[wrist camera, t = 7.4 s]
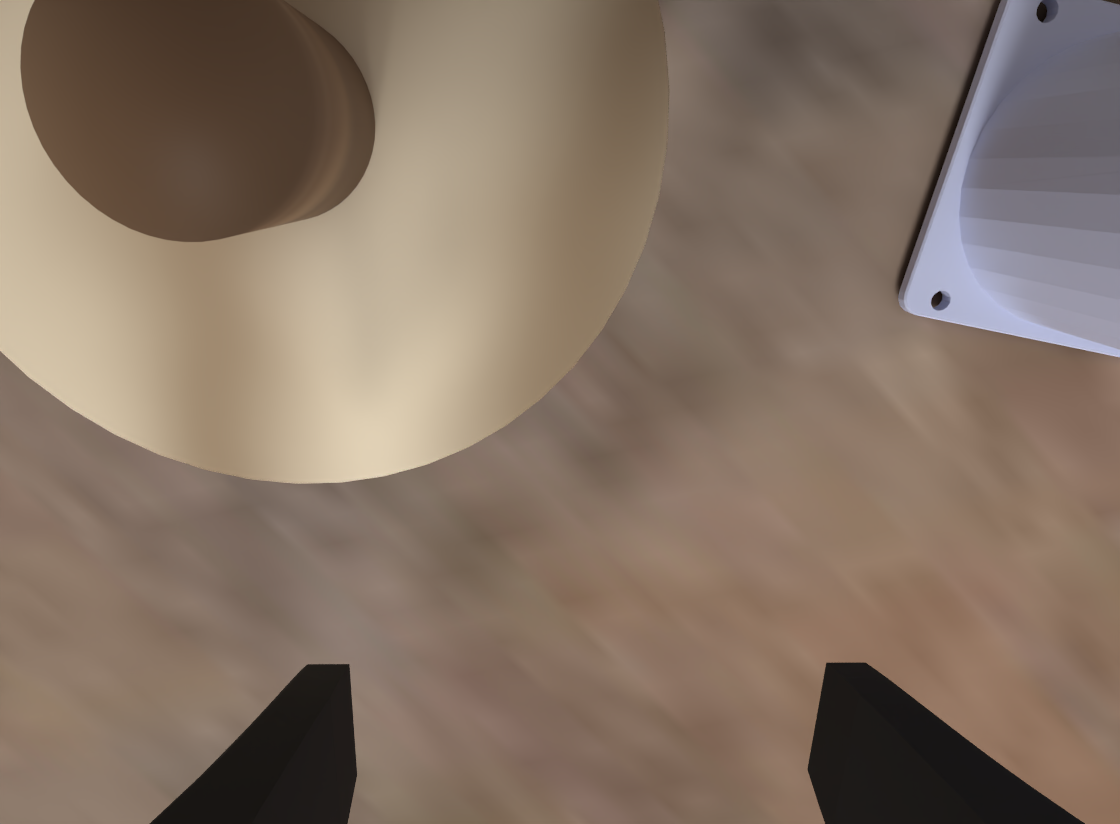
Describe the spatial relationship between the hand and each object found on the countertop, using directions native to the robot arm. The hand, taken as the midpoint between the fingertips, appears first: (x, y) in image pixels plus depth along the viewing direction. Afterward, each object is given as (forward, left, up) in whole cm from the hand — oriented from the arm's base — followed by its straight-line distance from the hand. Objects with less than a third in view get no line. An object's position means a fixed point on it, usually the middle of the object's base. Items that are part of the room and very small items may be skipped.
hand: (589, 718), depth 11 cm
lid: (+7, -8, -6) cm, 12 cm away
